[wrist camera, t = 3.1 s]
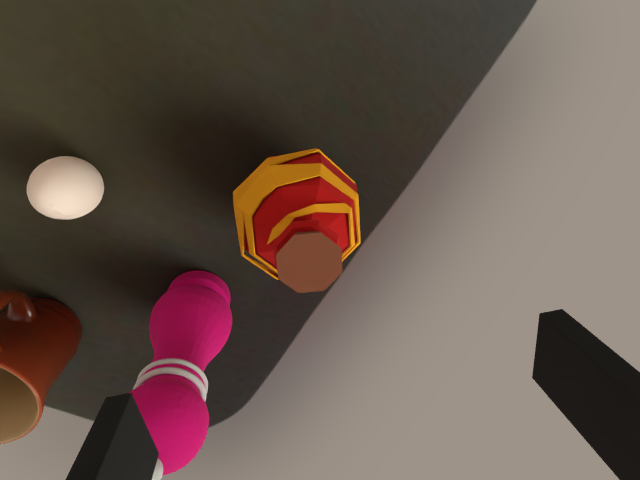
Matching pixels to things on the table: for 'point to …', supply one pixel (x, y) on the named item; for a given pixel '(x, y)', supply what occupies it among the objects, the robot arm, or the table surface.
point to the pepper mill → (182, 366)
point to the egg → (65, 188)
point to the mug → (31, 357)
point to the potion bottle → (298, 219)
